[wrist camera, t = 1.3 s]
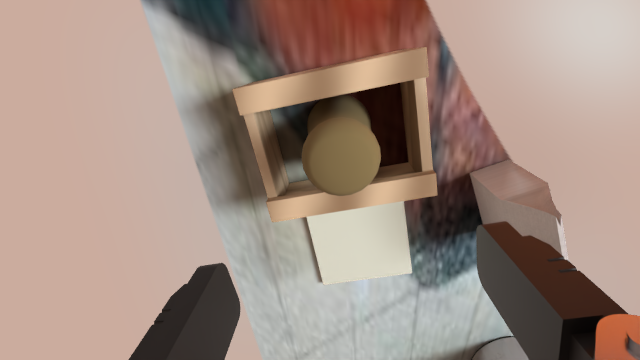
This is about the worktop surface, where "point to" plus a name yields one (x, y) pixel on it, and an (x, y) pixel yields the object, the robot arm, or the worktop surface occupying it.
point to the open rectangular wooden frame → (334, 81)
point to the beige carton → (519, 203)
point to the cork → (340, 146)
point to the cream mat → (361, 243)
